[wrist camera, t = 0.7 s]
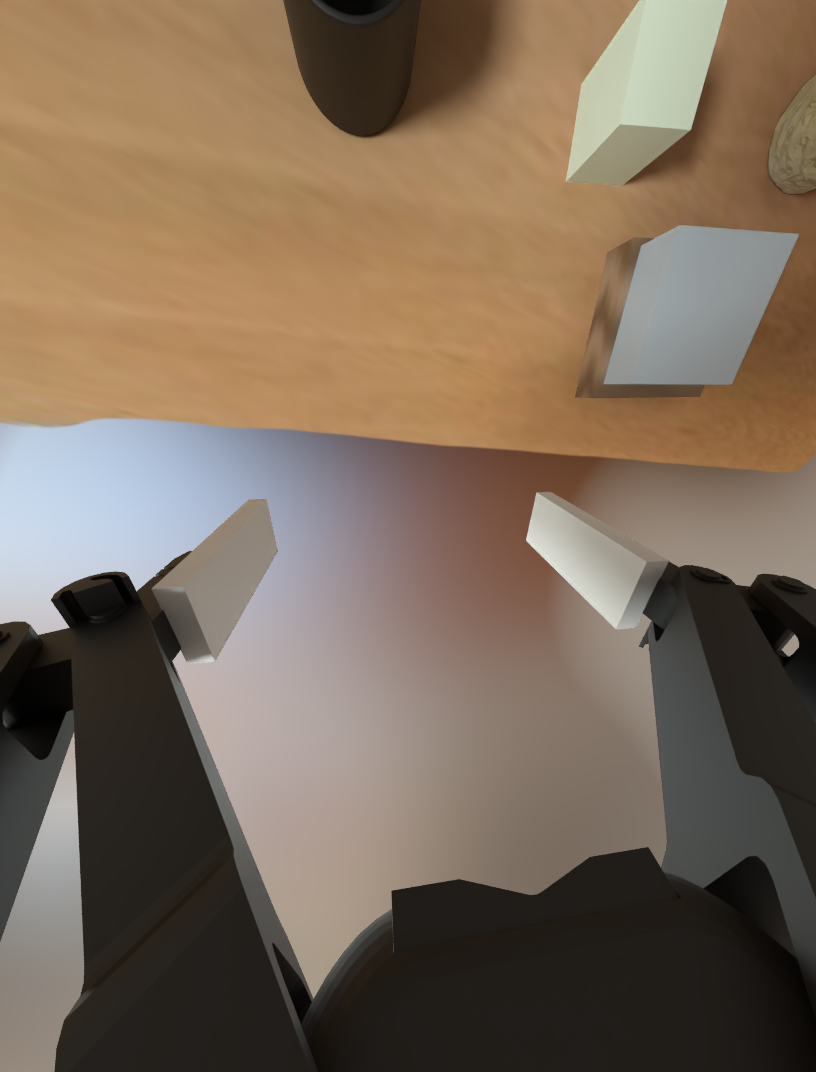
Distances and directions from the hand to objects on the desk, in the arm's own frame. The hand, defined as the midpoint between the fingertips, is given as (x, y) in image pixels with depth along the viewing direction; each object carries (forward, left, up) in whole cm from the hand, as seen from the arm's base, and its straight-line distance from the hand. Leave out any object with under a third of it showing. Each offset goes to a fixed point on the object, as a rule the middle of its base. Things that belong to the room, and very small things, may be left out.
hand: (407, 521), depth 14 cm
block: (-27, +22, -26) cm, 43 cm away
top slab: (-12, +32, -22) cm, 40 cm away
